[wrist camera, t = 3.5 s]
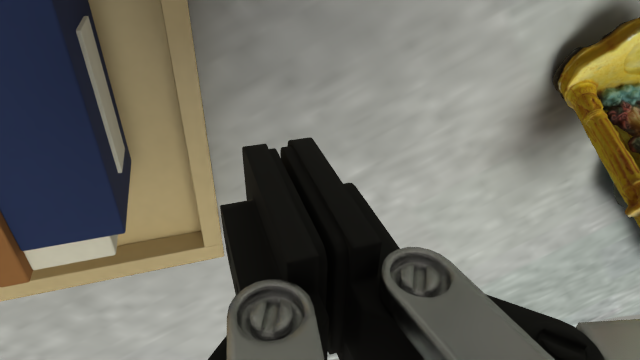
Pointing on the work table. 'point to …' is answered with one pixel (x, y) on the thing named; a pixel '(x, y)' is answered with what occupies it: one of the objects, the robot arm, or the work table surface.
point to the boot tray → (151, 147)
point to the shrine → (609, 104)
